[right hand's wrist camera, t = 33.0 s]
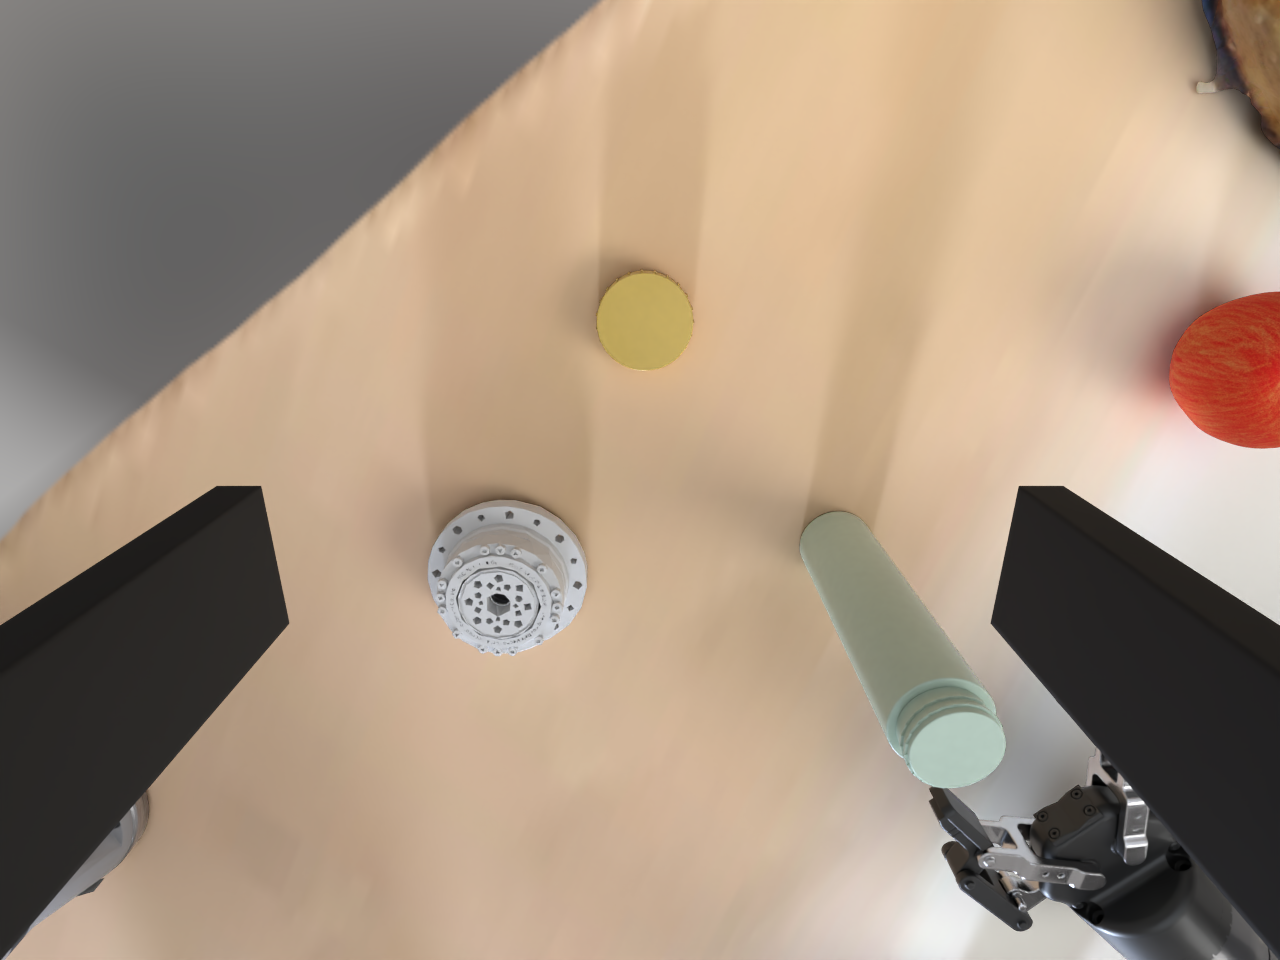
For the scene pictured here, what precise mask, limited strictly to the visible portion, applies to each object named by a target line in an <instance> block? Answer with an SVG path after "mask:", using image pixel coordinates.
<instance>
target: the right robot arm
mask: <svg viewBox="0 0 1280 960" xmlns="http://www.w3.org/2000/svg"><path fill="white" fill-rule="evenodd" d="M288 624H289V619H288V614H287V610H286V605H285V600H284V595H283V590H282V585H281V580H280V576H279V571H278V566H277V561H276V556H275V551H274V546H273V542H272V537H271V532H270V527H269V522H268V517H267V512H266V508H265V503H264V498H263V493H262V488H261V486H216V487H215V488H213V489H211V490H210V491H208V492H207V493H205V494H204V495H202V496H201V497H199V498H198V499H196V500H194V501H193V502H191V503H190V504H188V505H187V506H185V507H184V508H182V509H180V510H179V511H177V512H176V513H174V514H173V515H171V516H170V517H168V518H166V519H165V520H163V521H162V522H160V523H159V524H157V525H156V526H154V527H152V528H151V529H149V530H148V531H146V532H145V533H143V534H142V535H140V536H139V537H137V538H135V539H134V540H132V541H131V542H129V543H128V544H126V545H125V546H123V547H121V548H120V549H118V550H117V551H115V552H114V553H112V554H111V555H109V556H107V557H106V558H104V559H103V560H101V561H100V562H98V563H97V564H95V565H93V566H92V567H90V568H89V569H87V570H86V571H84V572H83V573H81V574H79V575H78V576H76V577H75V578H73V579H72V580H70V581H69V582H67V583H66V584H64V585H62V586H61V587H59V588H58V589H56V590H55V591H53V592H52V593H50V594H48V595H47V596H45V597H44V598H42V599H41V600H39V601H38V602H36V603H34V604H33V605H31V606H30V607H28V608H27V609H25V610H24V611H22V612H20V613H19V614H17V615H16V616H14V617H13V618H11V619H10V620H8V621H6V622H5V623H3V624H2V625H0V960H5V959H6V958H7V956H8V955H9V954H10V953H11V952H12V951H13V949H14V948H15V947H16V946H17V945H18V944H19V942H20V941H21V940H22V939H23V938H24V936H25V935H26V934H27V933H28V932H29V931H30V930H31V929H32V928H33V927H34V926H35V925H37V924H38V923H40V922H41V921H42V920H44V919H45V918H47V917H48V916H49V915H51V914H52V913H54V912H55V911H56V910H58V909H59V908H61V907H62V906H63V905H65V904H66V903H68V902H69V901H70V900H72V899H73V898H75V897H76V896H80V895H83V894H86V893H90V892H93V891H94V890H95V889H96V888H97V887H98V885H99V884H100V883H101V882H102V880H103V879H104V878H103V879H101V878H102V877H104V876H105V875H106V874H108V873H109V872H110V871H111V870H113V869H114V868H115V867H117V866H118V865H119V864H120V863H121V862H122V860H123V859H124V858H125V857H126V855H127V854H128V853H129V852H130V850H131V849H132V848H133V847H134V845H135V844H136V843H137V842H138V840H139V839H140V838H141V836H142V834H143V833H144V830H145V828H146V825H147V821H148V815H149V804H148V798H147V794H146V790H147V789H148V788H149V787H150V786H151V784H152V783H153V782H154V781H155V780H156V779H157V777H158V776H159V775H160V774H161V773H162V772H163V770H164V769H165V768H166V767H167V766H168V765H169V763H170V762H171V761H172V760H173V759H174V757H175V756H176V755H177V754H178V753H179V752H180V750H181V749H182V748H183V747H184V746H185V745H186V743H187V742H188V741H189V740H190V739H191V738H192V736H193V735H194V734H195V733H196V732H197V731H198V729H199V728H200V727H201V726H202V725H203V724H204V722H205V721H206V720H207V719H208V718H209V717H210V715H211V714H212V713H213V712H214V711H215V710H216V708H217V707H218V706H219V705H220V704H221V703H222V701H223V700H224V699H225V698H226V697H227V696H228V694H229V693H230V692H231V691H232V690H233V689H234V687H235V686H236V685H237V684H238V683H239V682H240V680H241V679H242V678H243V677H244V676H245V675H246V673H247V672H248V671H249V670H250V669H251V668H252V666H253V665H254V664H255V663H256V662H257V661H258V659H259V658H260V657H261V656H262V655H263V654H264V652H265V651H266V650H267V649H268V648H269V646H270V645H271V644H272V643H273V642H274V641H275V639H276V638H277V637H278V636H279V635H280V634H281V632H282V631H283V630H284V629H285V628H286V627H287V625H288ZM991 624H992V625H993V627H994V628H995V629H996V630H997V631H998V632H999V634H1000V635H1001V636H1002V637H1003V638H1004V639H1005V641H1006V642H1007V643H1008V644H1009V645H1010V646H1011V648H1012V649H1013V650H1014V651H1015V652H1016V654H1017V655H1018V656H1019V657H1020V658H1021V659H1022V661H1023V662H1024V663H1025V664H1026V665H1027V666H1028V668H1029V669H1030V670H1031V671H1032V672H1033V673H1034V675H1035V676H1036V677H1037V678H1038V679H1039V680H1040V682H1041V683H1042V684H1043V685H1044V686H1045V687H1046V689H1047V690H1048V691H1049V692H1050V693H1051V694H1052V696H1053V697H1054V698H1055V699H1056V700H1057V701H1058V703H1059V704H1060V705H1061V706H1062V707H1063V708H1064V710H1065V711H1066V712H1067V713H1068V714H1069V715H1070V717H1071V718H1072V719H1073V720H1074V721H1075V722H1076V724H1077V725H1078V726H1079V727H1080V728H1081V729H1082V731H1083V732H1084V733H1085V734H1086V735H1087V736H1088V738H1089V739H1090V740H1091V741H1092V742H1093V743H1094V745H1095V746H1096V747H1097V748H1098V749H1099V750H1100V752H1101V753H1102V754H1103V755H1104V756H1105V757H1106V759H1107V760H1108V761H1109V762H1110V763H1111V765H1112V766H1113V767H1114V768H1115V769H1116V770H1117V772H1118V773H1119V774H1120V775H1121V776H1122V777H1123V779H1124V780H1125V781H1126V782H1127V783H1128V784H1129V786H1130V787H1131V788H1132V789H1133V790H1134V791H1135V793H1136V794H1137V795H1138V796H1139V797H1140V798H1141V800H1142V801H1143V802H1144V803H1145V804H1146V805H1147V807H1148V808H1149V809H1150V810H1151V811H1152V812H1153V814H1154V815H1155V816H1156V817H1157V818H1158V819H1159V821H1160V822H1161V823H1162V824H1163V825H1164V826H1165V828H1166V829H1167V830H1168V831H1169V832H1170V833H1171V835H1172V836H1173V837H1174V838H1175V839H1176V840H1177V842H1178V843H1179V844H1180V845H1181V846H1182V847H1183V849H1184V850H1185V851H1186V852H1187V853H1188V854H1189V856H1190V857H1191V858H1192V859H1193V860H1194V861H1195V863H1196V864H1197V865H1198V866H1199V867H1200V868H1201V870H1202V871H1203V872H1204V873H1205V874H1206V876H1207V877H1208V878H1209V879H1210V880H1211V881H1212V883H1213V884H1214V885H1215V886H1216V887H1217V888H1218V890H1219V891H1220V892H1221V893H1222V894H1223V895H1224V897H1225V898H1226V899H1227V900H1228V901H1229V902H1230V904H1231V905H1232V906H1233V907H1234V908H1235V909H1236V911H1237V912H1238V913H1239V914H1240V915H1241V916H1242V918H1243V919H1244V920H1245V921H1246V922H1247V923H1248V925H1249V926H1250V927H1251V928H1252V929H1253V930H1254V932H1255V933H1256V934H1257V935H1258V936H1259V937H1260V939H1261V940H1262V941H1263V942H1264V943H1265V944H1266V946H1267V947H1268V948H1269V949H1270V950H1271V951H1272V953H1273V954H1274V955H1275V956H1276V957H1277V958H1278V960H1280V625H1278V624H1277V623H1275V622H1274V621H1272V620H1270V619H1269V618H1267V617H1266V616H1264V615H1263V614H1261V613H1260V612H1258V611H1256V610H1255V609H1253V608H1252V607H1250V606H1249V605H1247V604H1246V603H1244V602H1242V601H1241V600H1239V599H1238V598H1236V597H1235V596H1233V595H1232V594H1230V593H1228V592H1227V591H1225V590H1224V589H1222V588H1221V587H1219V586H1218V585H1216V584H1214V583H1213V582H1211V581H1210V580H1208V579H1207V578H1205V577H1204V576H1202V575H1201V574H1199V573H1197V572H1196V571H1194V570H1193V569H1191V568H1190V567H1188V566H1187V565H1185V564H1183V563H1182V562H1180V561H1179V560H1177V559H1176V558H1174V557H1173V556H1171V555H1169V554H1168V553H1166V552H1165V551H1163V550H1162V549H1160V548H1159V547H1157V546H1155V545H1154V544H1152V543H1151V542H1149V541H1148V540H1146V539H1145V538H1143V537H1141V536H1140V535H1138V534H1137V533H1135V532H1134V531H1132V530H1131V529H1129V528H1128V527H1126V526H1124V525H1123V524H1121V523H1120V522H1118V521H1117V520H1115V519H1114V518H1112V517H1110V516H1109V515H1107V514H1106V513H1104V512H1103V511H1101V510H1100V509H1098V508H1096V507H1095V506H1093V505H1092V504H1090V503H1089V502H1087V501H1086V500H1084V499H1082V498H1081V497H1079V496H1078V495H1076V494H1075V493H1073V492H1072V491H1070V490H1069V489H1067V488H1065V487H1064V486H1019V488H1018V493H1017V498H1016V503H1015V508H1014V512H1013V517H1012V522H1011V527H1010V532H1009V537H1008V542H1007V546H1006V551H1005V556H1004V561H1003V566H1002V571H1001V576H1000V580H999V585H998V590H997V595H996V600H995V605H994V610H993V614H992V619H991Z"/></svg>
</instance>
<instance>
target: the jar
mask: <svg viewBox="0 0 1280 960" xmlns="http://www.w3.org/2000/svg"><path fill="white" fill-rule="evenodd" d="M800 554H801V557H802V559H803V561H804V563H805V565H806V568H807V570H808V572H809V574H810V576H811V578H812V580H813V582H814V585H815V587H816V589H817V591H818V593H819V595H820V597H821V599H822V602H823V604H824V606H825V608H826V610H827V612H828V614H829V616H830V619H831V621H832V623H833V625H834V627H835V629H836V631H837V633H838V636H839V638H840V640H841V642H842V644H843V646H844V648H845V650H846V653H847V655H848V657H849V659H850V661H851V663H852V665H853V667H854V670H855V672H856V674H857V676H858V678H859V680H860V682H861V684H862V687H863V689H864V691H865V693H866V695H867V697H868V699H869V701H870V704H871V706H872V708H873V710H874V712H875V714H876V716H877V719H878V721H879V723H880V725H881V727H882V729H883V731H884V733H885V736H886V738H887V740H888V742H889V744H890V746H891V747H892V748H893V750H894V751H895V752H896V753H897V754H898V755H899V756H901V757H902V758H904V759H905V762H906V765H907V766H908V768H909V769H910V771H911V772H912V774H913V775H914V776H916V777H917V778H918V779H919V780H921V782H924V783H926V784H929V785H931V786H932V787H939V788H959V787H964V786H968V785H971V784H974V783H976V782H978V781H980V780H982V779H984V778H985V777H987V776H988V775H989V774H990V773H992V772H993V771H994V770H995V769H996V768H997V766H998V765H999V764H1000V762H1001V760H1002V758H1003V756H1004V753H1005V749H1006V739H1005V735H1004V732H1003V728H1002V727H1003V726H1002V724H1001V723H1000V721H999V719H998V717H997V716H996V708H995V704H994V702H993V699H992V698H991V696H990V695H989V693H988V692H987V690H986V689H985V688H984V686H983V685H982V684H981V682H980V681H979V679H978V678H977V677H976V675H975V674H974V673H973V671H972V670H971V668H970V667H969V666H968V664H967V663H966V662H965V660H964V659H963V657H962V656H961V655H960V653H959V652H958V651H957V649H956V648H955V646H954V645H953V644H952V642H951V641H950V640H949V638H948V637H947V635H946V634H945V633H944V631H943V630H942V628H941V627H940V626H939V624H938V623H937V622H936V620H935V619H934V617H933V616H932V615H931V613H930V612H929V611H928V609H927V608H926V606H925V605H924V604H923V602H922V601H921V600H920V598H919V597H918V595H917V594H916V593H915V591H914V590H913V589H912V587H911V586H910V584H909V583H908V582H907V580H906V579H905V578H904V576H903V575H902V573H901V572H900V571H899V569H898V568H897V567H896V565H895V564H894V562H893V561H892V560H891V558H890V557H889V556H888V554H887V553H886V551H885V550H884V549H883V547H882V546H881V545H880V543H879V542H878V540H877V539H876V538H875V536H874V535H873V534H872V532H871V531H870V529H869V528H868V527H867V525H866V524H865V523H864V522H863V521H862V520H861V519H860V518H859V517H857V516H856V515H853V514H851V513H848V512H840V511H836V512H830V513H826V514H823V515H821V516H819V517H817V518H816V519H814V520H813V521H812V522H811V523H810V524H809V525H808V526H807V527H806V528H805V530H804V532H803V534H802V536H801V540H800Z"/></svg>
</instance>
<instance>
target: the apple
mask: <svg viewBox="0 0 1280 960" xmlns="http://www.w3.org/2000/svg"><path fill="white" fill-rule="evenodd" d="M1169 382H1170V388H1171V391H1172V393H1173V396H1174V398H1175V400H1176V401H1177V403H1178V404H1179V406H1180V407H1181V408H1182V410H1183V411H1184V412H1185V413H1186V415H1187V416H1188V417H1189V418H1190V420H1191V421H1192V422H1193V423H1194V424H1195V425H1196V426H1197V427H1198V428H1200V429H1201V430H1202V431H1204V432H1205V433H1207V434H1209V435H1211V436H1213V437H1215V438H1217V439H1219V440H1222V441H1225V442H1228V443H1231V444H1234V445H1238V446H1242V447H1248V448H1277V447H1280V292H1268V293H1261V294H1255V295H1251V296H1247V297H1243V298H1239V299H1236V300H1233V301H1230V302H1227V303H1225V304H1222V305H1220V306H1218V307H1216V308H1214V309H1212V310H1210V311H1208V312H1206V313H1205V314H1203V315H1202V316H1200V317H1199V318H1198V319H1196V320H1195V321H1194V322H1193V323H1192V324H1191V325H1190V326H1189V327H1188V328H1187V330H1186V331H1185V332H1184V334H1183V335H1182V337H1181V338H1180V340H1179V341H1178V343H1177V345H1176V347H1175V349H1174V351H1173V354H1172V359H1171V364H1170V372H1169Z"/></svg>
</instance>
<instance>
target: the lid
mask: <svg viewBox="0 0 1280 960" xmlns="http://www.w3.org/2000/svg"><path fill="white" fill-rule="evenodd" d="M687 297H688V296H687V294H686V293H684V292H683V290H682V289H681V288H680V285H679V283H678V282H677V283H676V282H675V281H673V280H672V279H671V278H669V276H668V275H663V274H661V273H658V272H656V270H654V271H645V270H643V269H641V271H635V272H631V273H630V272H628V274H626V275H624V276H622V277H620V278H619V279H618V278H616V281H615V282H614V283H613V284H612V285H611V286H610V287H607V289H606V293H605V294H604V296H603V298H601V299H600V301H599V303H600V305H599V309H598V311H597V313H596V316H597V327H596V329H597V331H598V335H599V338H600V342H601V343H602V345H603V347H604V349H605V350H606V351H607V353H608V354H609V355H610V356H611V357H612V358H613V359H614V360H615V361H616V362H618V363H620V364H621V365H623V366H625V367H628V368H631V369H634V370H640V371H649V370H655V369H659V368H662V367H665V366H666V365H668V364H670V363H672V362H673V361H674V360H676V359H677V358H678V357H679V356H680V355H681V354H682V352H683V351H684V350H685V348H686V347H687V345H688V343H689V340H690V338H691V336H692V329H693V323H694V320H693V314H692V310H693V308H692V306H691V305H690V303H689V301H688V299H687Z"/></svg>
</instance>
